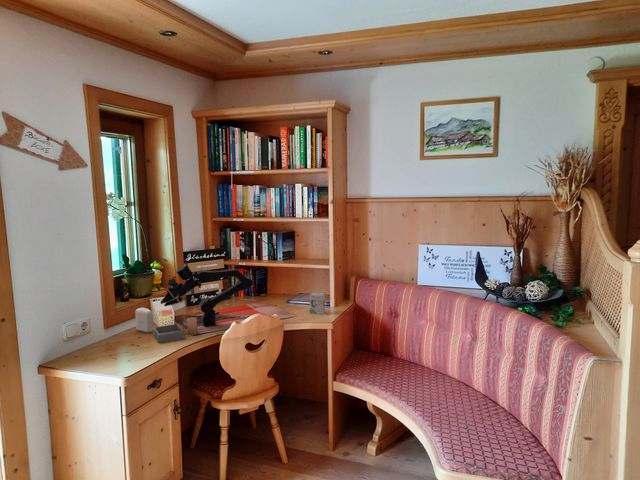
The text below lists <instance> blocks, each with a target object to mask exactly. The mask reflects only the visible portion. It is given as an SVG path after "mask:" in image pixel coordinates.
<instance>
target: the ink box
mask: <svg viewBox="0 0 640 480" xmlns="http://www.w3.org/2000/svg"><path fill="white" fill-rule="evenodd" d="M309 313H310V314H311V315H312V314H315V315H324V314H325V313H326V294H325V293H320V292H311V293H309Z"/></svg>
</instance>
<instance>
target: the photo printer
mask: <svg viewBox="0 0 640 480" xmlns="http://www.w3.org/2000/svg"><path fill="white" fill-rule="evenodd" d="M134 311H135V313H134V314H135V315H134V316H135V329H136V331H140V332H144V333H152V332H154V330H153V327H154V322H153V321H154V319H153V311H152V310H150V309H149V308H145V307H138V308H137V309H135V310H134Z"/></svg>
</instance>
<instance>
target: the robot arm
mask: <svg viewBox="0 0 640 480" xmlns="http://www.w3.org/2000/svg"><path fill="white" fill-rule="evenodd" d="M175 273H176V274H177V275H178V277H179V278H180V279H181V280H182V281H184V282H183V283H182V282H180V283H178V282H177V280H176V278H174V277H173V278H170V279H168V282H167V285H168V286H169V287H168V288H167V289H166V290H167V291H166V295H165V296H164V297H163V298H162V299H161V301H160V304H161V305H162V304H163V306H164V307H168V306H172V305H176V304H177V305H178V304H181V303H183V302H184V300H185V299H184V296H186V295H188V294H190V292H191V291H192V290H194V289H195V288H196V287H198V288H199V289H201V288H202V283H205V282H209V281H212V280H215V279H222V278H234V277H235V278H236V279H237V280H236V281H237V282H236V283H235V284H233V285H231V286H230V287H228V288H227V289H224V290H223V291H221V292H220V293H218V294H217V295H214V296H212V297H209V296H206V297H204V298H202V299H201V301H200V302H199V304H198V307H199V309H200V311H201V312H202V317H201V324H202V325H203V326H204V327H212V326H213V327H214V326H217V325H218V324H217V323H216V310H215V309H214V308H215V307H216V306H217V305H218V304H220V303H222V302H223V301H225V300H226V299H228V298H230V297H232V296H233V295H235V294H237V293H238V292H240V291H244V290H247V289H249V288H251V287H252V286H253V284H254V282H253V279H252V278H250V277H249V276H246V275H244V274H243V273H242V272H241V271H240V270H239V269H237V268H233V269H223V270H208V269H207V270H206V269H200V270H198V271H191V269H190V267H189V265H187V264H185V265H183V266H182V267H179V268H178V269H177V270H176V272H175Z"/></svg>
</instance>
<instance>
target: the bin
mask: <svg viewBox="0 0 640 480" xmlns="http://www.w3.org/2000/svg"><path fill="white" fill-rule="evenodd" d="M184 334H185V331H184V330H183V328H182V327H181V326H180V325H179V324H178V323H173V324H166V325H158V326H153V336H154V337H155V339H156V341H157V342H158V343H159V344H160V343H167V342H172V341H178V340H184V339H185V335H184Z"/></svg>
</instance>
